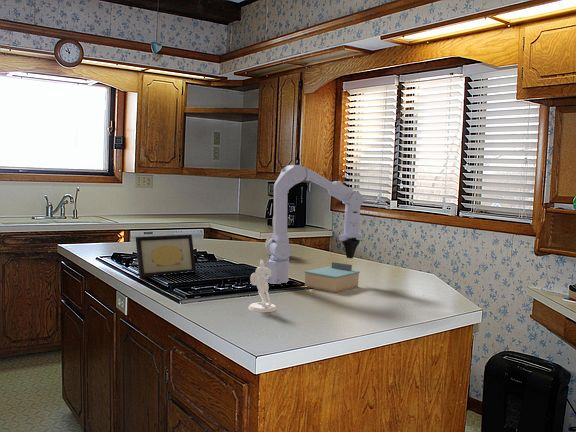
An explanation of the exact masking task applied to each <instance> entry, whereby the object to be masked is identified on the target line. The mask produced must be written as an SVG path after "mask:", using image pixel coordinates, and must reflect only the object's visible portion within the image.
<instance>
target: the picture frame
mask: <svg viewBox="0 0 576 432" xmlns="http://www.w3.org/2000/svg"><path fill="white" fill-rule="evenodd" d="M193 243H194V242H193V235H192V234H178V235H177V234H175V235H152V236H151V235H149V236H136V237H135V245H136V255H137V257H136V258H137V264H138V265H137V266H138V267H137V268H138V277H139V279H143V278H151V277H150V276H154V275H162V274H171V273H179V272H187V271H196V272H197V268H196V260H195V251H194V244H193Z"/></svg>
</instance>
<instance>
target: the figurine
mask: <svg viewBox="0 0 576 432" xmlns="http://www.w3.org/2000/svg"><path fill="white" fill-rule="evenodd" d="M265 263H266V262H264V259H260V260H259V266H257V267H256V269H255V272H253V273H251V275H250V277H249V279H250V284H251V285H252V286H256V288H257V290H258V291H257V294H258V295H259V296H260V298H261V302H259V301H258V302H253V303H250V304H249V306H248V308H247V309H248V310H249V311H252V312H257V313H258V312H259V313H271V312H276V311H277V310H278V307H277V306H276V305H275V304H273V303H272V301H271V298H270V294H269V288H270V286H269V284H268V282H267V281H266V279H269V277H270V276H271V270H269V268H266V267H264V265H265ZM265 273H267V274H268V276H266V277H265ZM265 294H266V295H265ZM266 299H267V301H266Z"/></svg>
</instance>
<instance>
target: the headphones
mask: <svg viewBox="0 0 576 432" xmlns="http://www.w3.org/2000/svg"><path fill="white" fill-rule="evenodd" d="M273 224H274V215H273V216H272V223H271V225H272V227H273ZM272 235H273V234H272ZM272 235H270V236H268V237H267V238H266V240H265V245H264V246H265V247H264V248H265V250H266V252H267V254H268V255H270V256H271V255H272V254H271V253H270V251H269V245H270V243H271V239H272Z"/></svg>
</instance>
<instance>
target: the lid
mask: <svg viewBox="0 0 576 432" xmlns="http://www.w3.org/2000/svg"><path fill="white" fill-rule="evenodd" d="M352 268H353V264H349V263H343V262H342V263H341V262H336V261H332V262H331V265H330V266H325V267H319V268H314V269H309V270H304V274H305V273H308V274H313V275H319V276H325V277H330V278H336V279H337V278H341V277H345V276H349V275H353V274H357V273H359V274H360V272H361V271H360V270H355V269H352Z"/></svg>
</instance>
